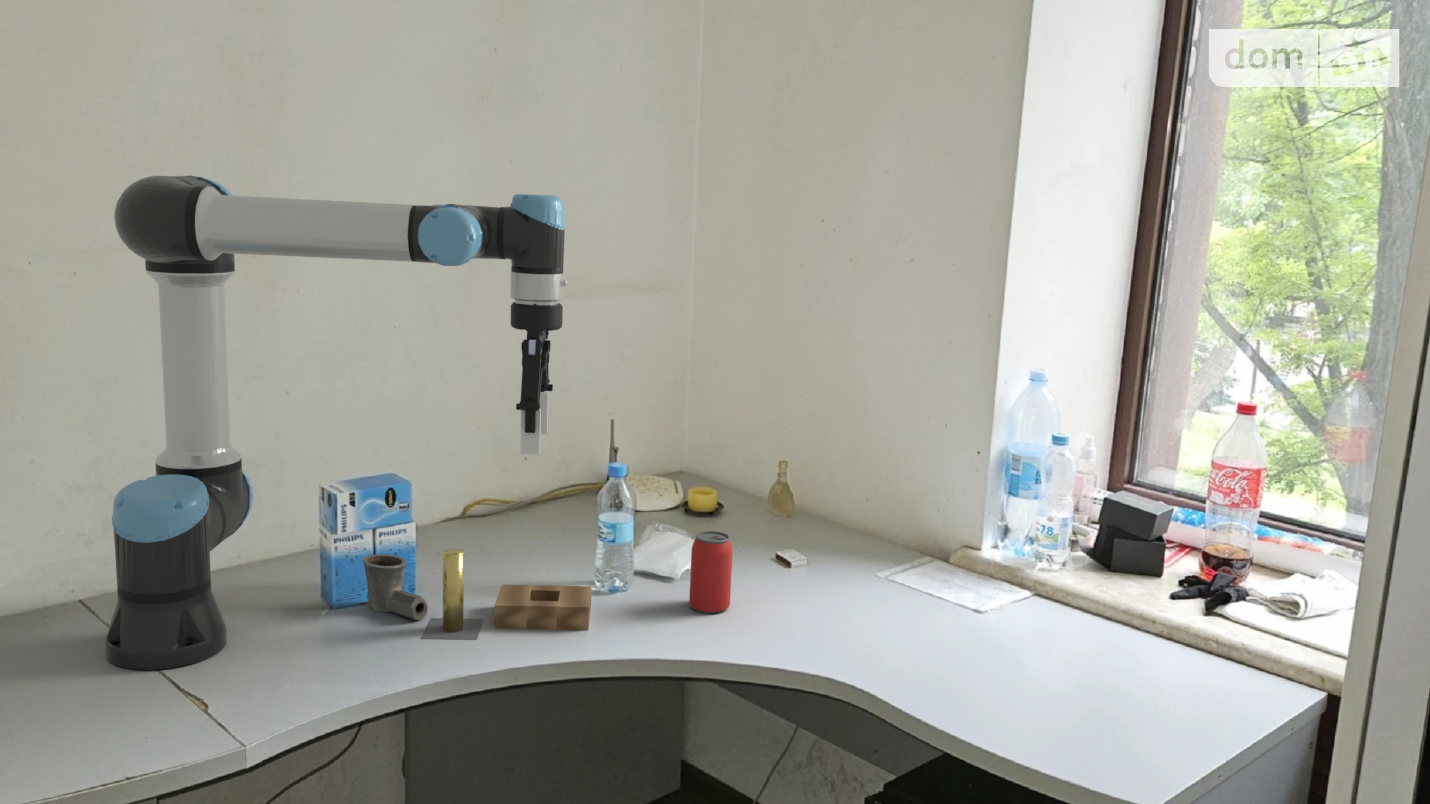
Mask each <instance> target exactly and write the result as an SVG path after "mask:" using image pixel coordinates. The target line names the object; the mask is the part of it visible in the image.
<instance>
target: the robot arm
mask: <svg viewBox="0 0 1430 804" xmlns="http://www.w3.org/2000/svg"><path fill="white" fill-rule="evenodd" d="M114 224H115V228H116V232H117V234H118V236H119V238H120V240H121V242H122V243H123V244H124V245H125V247H127V248H128V249H129V250H130V251H131V252H132V253H134V254H135V255H136V256H138V257H140V258H143V259H144V262H145V264H144V266H145V272H146V274H147V275H148V276H149V277H150V278H151V279H153V281H154V282H156V283H157V287H158V302H159V303H158V305H159V306H158V307H159V323H160V324H159V325H160V342H161V343H160V344H161V363H162V367H161V368H162V384H163V385H162V387H163V405H164V406H163V407H164V423H165V424H164V425H165V443H166V444H165V445H166V446H165V448H164V450H163V451H162V452H161V453H160V454H158V456H157V457H156V458H155V461H154V462H155V475H153V476H149V477H147V478H146V479H138V480H135V481H133V482H131V483H129V484H127V485H126V486H123V487H122V488H121V489H120V490H119V491H118V492H117V494H116V495H115V497H114V500H113V512H112V516H111V524H112V528H113V539H114V540H113V541H114V555H115V571H116V572H115V573H116V589H117V590H116V591H117V602H116V605H115V609H114V611H113V614H112V618H111V621H110V624H109V628H108V631H107V635H106V636H105V655H106V657H105V658H106V659H107V660H108V661H109V662H110V663H111V664H112V665H115V666H117V667H121V668H123V669H124V668H126V669H131V670H146V671H147V670H148V671H149V670H153V671H154V670H164V669H173V668H179V667H183V666H187V665H191V664H195V663H198V662H202V661H203V660H206V659H208V658H210V657H213V656H214V655H216V654H218V653H219V652H220V651H222V650H223V649H224V648H225V646H226V645H227V641H228V640H227V626H226V622H225V620H224V617H223V616H222V613H221V610H220V608H219V606H218V603H217V601H216V598H215V596H214V593H213V592H212V585H211V584H212V580H211V579H212V577H211V573H212V572H211V552H212V551H213V550H214V549H216V548H217V547H218V546H219V545H220V544H221V543H222V542H224V541H225V540H226V539H228V538H230V537H231V536H233V534H235V533H236V532H237V531H238V530H239V529H240V528H241V527H242V526H243V524H244V522H245V520H246V519H247V518H248V516H249V514H250V512H251V511H252V510H251V509H252V506H253V502H254V492H253V491H254V490H253V487H252V483H251V481H250V478H249V476H248V475H247V474H246V473H245V472H244V471H243V461H242V458H243V457H242V453H241V452H240V451H238V450H237V449H236V448H234V446H232V444H231V436H230V434H231V433H230V411H229V410H230V407H229V385H228V384H229V382H228V380H229V379H228V356H227V353H228V352H227V327H226V304H225V303H226V302H225V301H226V300H225V297H226V296H225V284H226V283H227V282H228V280H230V279H231V277H233V276H234V274H235V273H236V270H235V269H236V268H235V266H236V265H235V264H236V263H235V262H236V261H235V259H236V258H235V255H238V254H239V255H256V256H257V255H258V256H279V257H281V256H282V257H303V258H304V257H305V258H325V259H346V260H349V259H350V260H365V261H366V260H369V261H370V260H372V261H390V262H391V261H392V262H393V261H395V262H413V263H414V262H415V263H424V264H427V263H428V264H429V263H430V264H438V265H440V266H444V267H458V266H461V265H462V266H463V265H465V264H466V263H468V262H470V261H471V260H473V259H487V260H488V259H490V260H494V259H495V260H510V261H511V267H510V269H511V270H510V298H511V299H512V300H514V301H513V302H512V303H511V304H510V326H511V328H513V329H515V330H520V331H522V330H523V331H526V339H523V341H522V342H521V354H522V356H521V368H522V371H521V390H520V401H519V403H516V404H515V410H517V411H520V455H536V456H537V455H538V456H539V455H541V435H548V433H549V432H548V430H549V429H548V428H549V427H548V424H549V423H548V421H549V418H548V417H549V392H553V391H554V390H553V389H554V388H553V386H554V384H553V383H551V384H549V383H550V382H551V381H550V375H549V363H550V352H551V345H552V343H551V339H550V340H549V334H550V331H551V332H552V331H558V330H560V329H561V328H562V327H563V315H564V314H563V313H564V312H563V311H564V310H563V307H564V306H563V305H562V303H560V301H562V299H563V298H564V297H563V292H564V291H563V289H564V288H563V287H566V286H568V281H567V280H566V279H562V278H563V277H564V260H565V259H564V257H565V235H566V234H565V231H566V230H565V229H566V227H565V204H564V201H563V199H562V198H560V197H559V196H557V195H551V194H549V195H548V194H527V193H516V194H514V195H513V197H512V199H511V203H510V206H500V207H499V206H487V205H486V206H484V205H470V204H469V205H468V204H467V205H466V204H455V203H446V204H433V205H421V204H420V205H415V204H402V203H400V204H399V203H385V202H384V203H383V202H382V203H381V202H380V203H379V202H362V201H361V202H359V201H345V200H325V199H303V198H286V197H285V198H284V197H267V196H248V195H247V196H246V195H233V193H232V192H230V190H228V188H226V187H225V186H223V185H221V184H220V183H218V182H217V181H214V180H212V179H208V178H205V177H202V176H194V175H191V174H190V175H173V176H172V175H170V176H167V175H152V176H147V177H144V178H143V177H142V178H140V179H138V180H137V181H135V182H132V183H131V184H130V185H129V186H127V187H126V188H125V189H124V191H123V192H121V194H120V196H119V198H118V199H117V201H116V205H115V209H114Z"/></svg>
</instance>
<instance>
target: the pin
mask: <svg viewBox="0 0 1430 804" xmlns="http://www.w3.org/2000/svg"><path fill="white" fill-rule="evenodd" d="M464 561H465V551H464V549H461V548H457V547H456V548H455V547H450V548H447V549H444V550H443V551H442V618H443V631H445V632H450V633H454V632H459V631H462V630H463V622H464V619H465V618H464V611H465V610H464V601H465V600H464V598H465V597H464V596H465V595H464V594H465V591H464V587H465V586H464V582H465V581H464V580H465V577H464V575H465V570H464V569H465V562H464Z"/></svg>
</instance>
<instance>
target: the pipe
mask: <svg viewBox="0 0 1430 804" xmlns="http://www.w3.org/2000/svg"><path fill="white" fill-rule="evenodd" d="M362 563H363V566H364V571H365V577H366V583H367V584H366V585H367V597H368V605H369V608H370V609H371V610H372V611H375V612H377V613H393V614H395V615H398V616H401V617H403V618H406V619H410V620H412V621H419V620H420V621H421V620H423V619H424V618H425V617H426V615H427V613H428V608H429V607H428V603H427V601H426V599H425V598H424V597H422V596H421V595H420V594H419V595H418V594H415V593H412V592H407V591H404V590H403V588H404V579H405V572H406V566H407V564H408V563H407V560H406V559H405V558H403V557H401V556H399V555H394V554H380V553H376V554H374V553H373V554H370V555H366V556H365V557H364V558H363V559H362Z"/></svg>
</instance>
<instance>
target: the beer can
mask: <svg viewBox="0 0 1430 804" xmlns="http://www.w3.org/2000/svg"><path fill="white" fill-rule="evenodd" d="M730 539H731V536H730V535H729V534H727V533H725V532H722V531H715V530H711V531H710V530H707V531H700V532H698V533H696V534H695V539H694V541H693V544H692V546H691V554H690V557H691V558H690V575H689V576H690V577H689V597H688V598H689V606H690V607H691V608H692V609H693V610H694V611H697V612H699V613H702V614H703V613H704V614H718V613H722V612H725V611H726V610H728V609H729V608H730V606H731V605H730V604H731V591H732V587H731V586H732V575H733V574H732V570H733V569H732V568H733V551H734V550H733V546H732V542H731V541H730Z"/></svg>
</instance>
